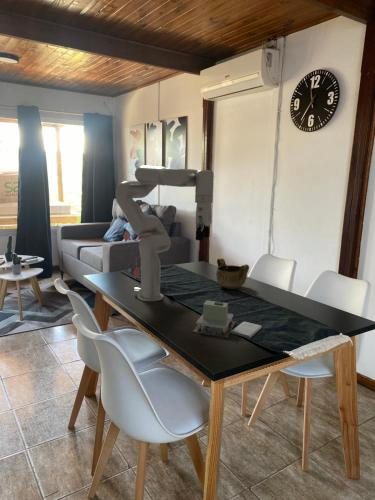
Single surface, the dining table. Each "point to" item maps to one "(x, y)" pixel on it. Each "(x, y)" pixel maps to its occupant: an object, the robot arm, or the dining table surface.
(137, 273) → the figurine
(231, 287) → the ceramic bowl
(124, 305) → the dining table surface
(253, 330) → the external hard drive
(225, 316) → the pale green block
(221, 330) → the chassis
